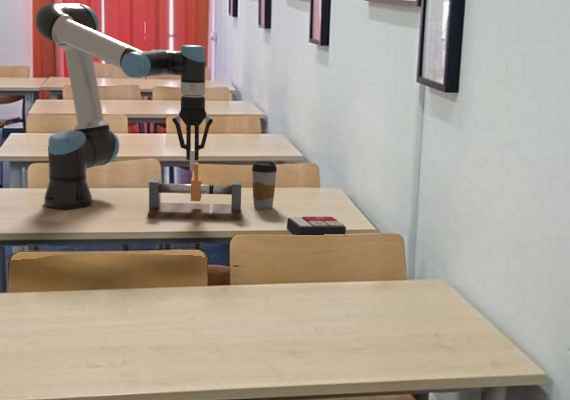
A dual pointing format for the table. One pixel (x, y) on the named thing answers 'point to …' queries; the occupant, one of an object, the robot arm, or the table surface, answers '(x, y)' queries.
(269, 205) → the coffee cup
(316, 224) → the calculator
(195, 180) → the orange slotted block
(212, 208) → the base board
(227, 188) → the pipe
